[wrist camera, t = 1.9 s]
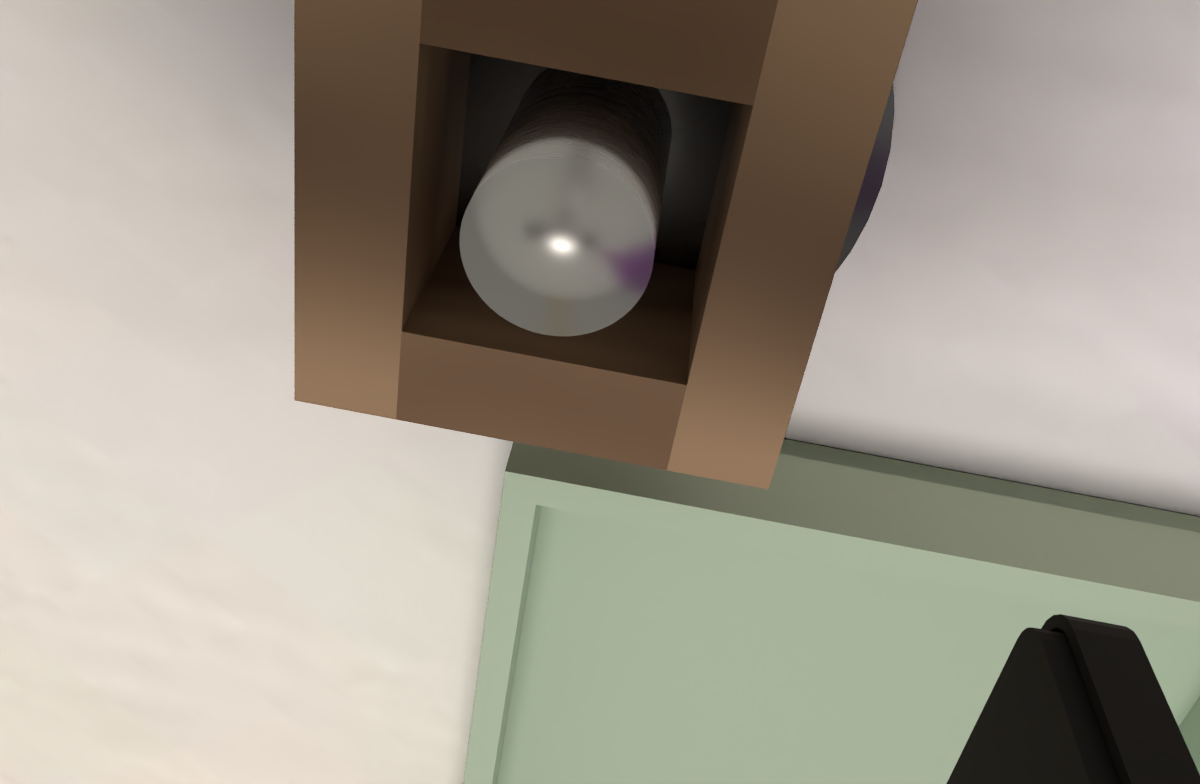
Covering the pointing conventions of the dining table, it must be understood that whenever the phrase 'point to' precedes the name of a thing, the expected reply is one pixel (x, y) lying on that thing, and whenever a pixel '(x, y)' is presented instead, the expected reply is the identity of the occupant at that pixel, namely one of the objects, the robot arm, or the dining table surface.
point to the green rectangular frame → (795, 616)
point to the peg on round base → (592, 190)
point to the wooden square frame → (673, 295)
